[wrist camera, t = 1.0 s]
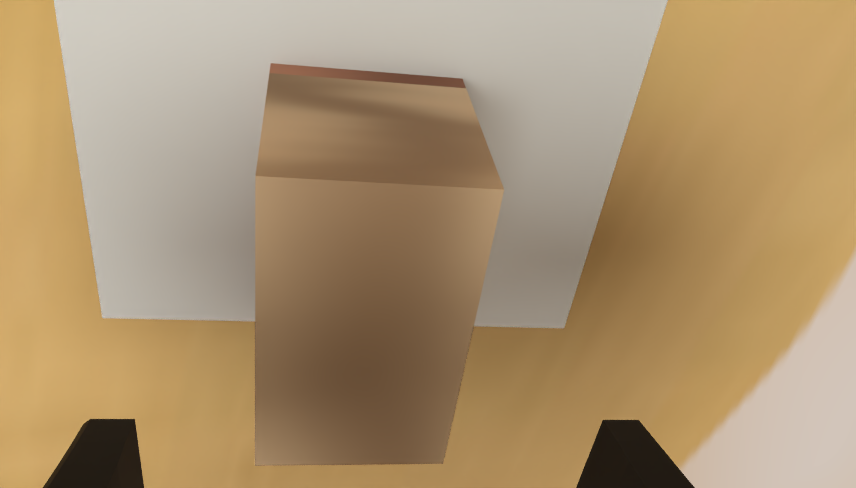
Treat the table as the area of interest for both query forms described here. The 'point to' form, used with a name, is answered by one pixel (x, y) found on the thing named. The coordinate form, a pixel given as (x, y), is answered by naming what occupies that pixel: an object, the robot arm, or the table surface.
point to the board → (343, 49)
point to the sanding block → (366, 263)
